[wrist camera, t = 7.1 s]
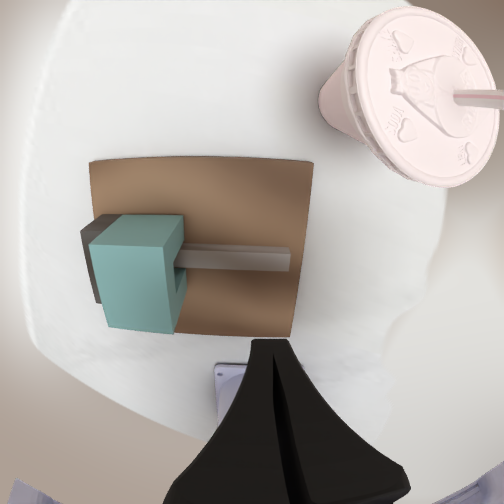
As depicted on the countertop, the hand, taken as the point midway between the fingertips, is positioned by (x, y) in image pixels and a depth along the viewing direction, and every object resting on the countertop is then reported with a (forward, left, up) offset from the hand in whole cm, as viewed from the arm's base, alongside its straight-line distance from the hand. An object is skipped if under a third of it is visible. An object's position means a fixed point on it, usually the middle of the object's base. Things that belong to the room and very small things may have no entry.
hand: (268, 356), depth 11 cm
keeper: (0, +7, -8) cm, 11 cm away
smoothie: (+10, -5, -10) cm, 15 cm away
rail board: (0, +4, -9) cm, 10 cm away
